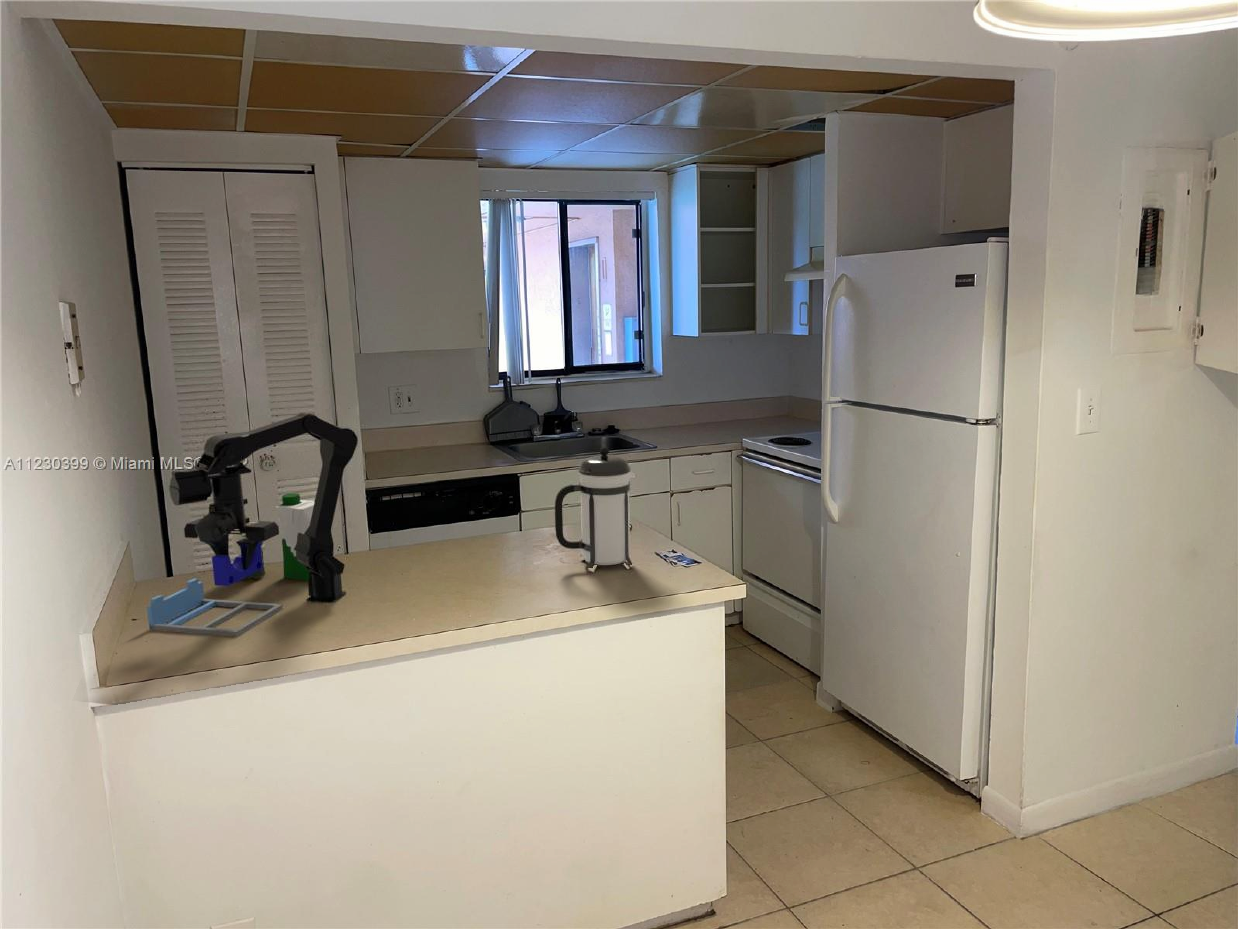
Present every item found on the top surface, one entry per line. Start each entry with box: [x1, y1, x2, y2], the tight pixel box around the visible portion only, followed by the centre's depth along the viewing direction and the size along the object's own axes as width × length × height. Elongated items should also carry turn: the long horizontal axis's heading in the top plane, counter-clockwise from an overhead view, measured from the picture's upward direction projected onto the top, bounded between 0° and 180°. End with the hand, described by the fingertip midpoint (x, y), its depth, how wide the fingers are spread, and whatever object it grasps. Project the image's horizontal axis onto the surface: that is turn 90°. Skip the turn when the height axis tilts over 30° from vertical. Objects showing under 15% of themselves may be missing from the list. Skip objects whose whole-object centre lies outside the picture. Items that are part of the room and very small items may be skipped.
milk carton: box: [275, 493, 315, 581], centre depth 215 cm, size 9×9×20 cm
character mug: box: [230, 522, 266, 580], centre depth 215 cm, size 11×7×13 cm, turn 26°
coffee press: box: [554, 446, 636, 569], centre depth 218 cm, size 17×16×30 cm
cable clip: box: [211, 541, 264, 587], centre depth 185 cm, size 12×4×6 cm, turn 168°
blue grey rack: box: [146, 578, 284, 637], centre depth 188 cm, size 20×16×6 cm
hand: (235, 569), depth 185 cm, fingers closed on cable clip, 4 cm apart
